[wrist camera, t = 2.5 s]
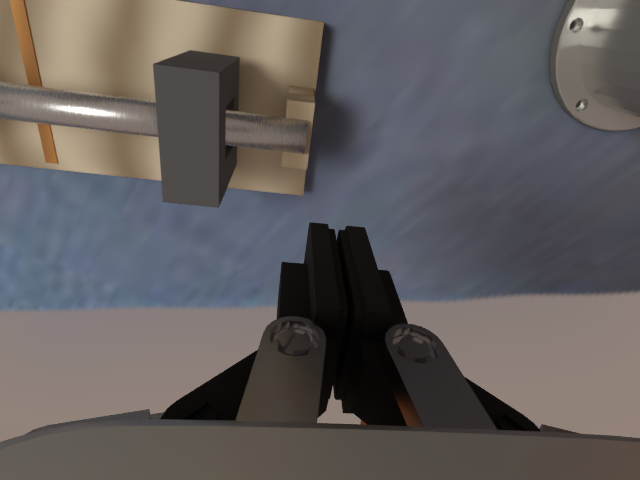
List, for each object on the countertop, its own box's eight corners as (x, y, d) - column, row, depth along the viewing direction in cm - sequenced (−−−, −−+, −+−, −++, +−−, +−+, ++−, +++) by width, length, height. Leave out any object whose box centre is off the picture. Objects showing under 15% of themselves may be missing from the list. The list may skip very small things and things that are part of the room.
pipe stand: (322, 21, 26) (328, 25, 21) (303, 188, 32) (303, 225, 27) (-88, -40, 24) (-207, -55, 18) (-27, 152, 30) (-103, 186, 24)
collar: (239, 56, 24) (219, 72, 18) (236, 164, 28) (218, 207, 22) (190, 50, 24) (152, 63, 18) (193, 159, 28) (162, 202, 22)
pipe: (307, 113, 24) (308, 122, 22) (303, 150, 25) (303, 162, 23) (-127, 58, 22) (-170, 63, 20) (-110, 101, 23) (-149, 110, 21)
